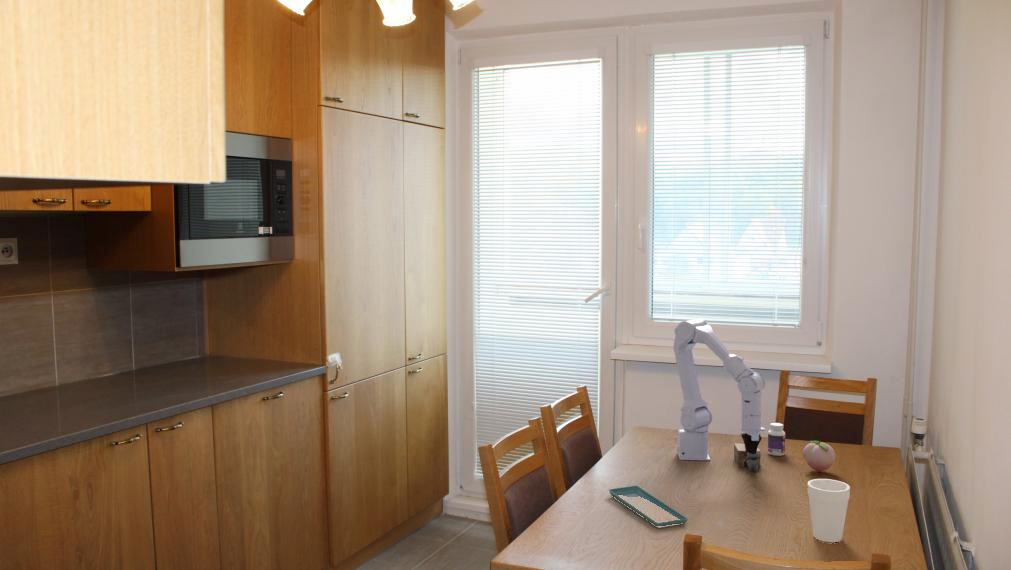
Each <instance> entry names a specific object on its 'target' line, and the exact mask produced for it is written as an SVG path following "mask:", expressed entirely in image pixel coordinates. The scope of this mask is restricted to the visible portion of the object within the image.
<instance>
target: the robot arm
mask: <svg viewBox="0 0 1011 570" xmlns="http://www.w3.org/2000/svg"><path fill="white" fill-rule="evenodd" d="M673 331H674V335H675V337H674V341H673V352H674V357H675V362H676V367H677V371H678V372H677V373H678V376H679V382H680V387H681V390H682V395H683V402H682V405H681V407H680V425H681V426H682V428H683V429H678V430H677V448H676V449H677V450H676V451H677V452H676V453H677V456H678V459H679V461H711V458H710V457H711V456H710V455H709V451H708V450H709V448H708V447H709V446H708V445H709V425H711V423H712V421H713V413H712V412H711V410H710V409H709V407H708V403H707V402H706V401H705V400H704V399H703V397H702V395H701V389H700V384H699V380H698V374H697V369H696V365H695V364H696V363H695V361H694V355H693V348H694V347H696V345H697V344H702V345H703V344H704V345H705V346H707V348H708V349H709V350H710V351H712V353H713V354H714V355H716V356H717V358H719V360H721V361H722V362H723V363H722V364H723V366H722V367H723V369H724V370H725V371H726V372H727V373H728V374H729V375H730V376H731V378H733V380H734V381H735V382H736V383H737V388H738V390H739V392H740V395H741V420H740V421H741V425H740V431H741V432H743V433H740V436H741V438H742V440H743V444H744V445H745V450H746V455H747V452H749V451H755V452H757V448H759V444H760V443H761V441H762V436H761V433H762V432H766V428H765V427H762V391H763V390H764V388H765V387H766V381H765V378H764V377H763V375H762V374H761V373H759V372H755V371H754V369H752V368H750V366H748V364H746V362H745V361H744V358H743V357H742V356H739V355H738V354H732V352H730V351H729V350H728V348H727V347H726V345H725V344H724V343H723V342H722V340H720V338H719V337H718V336H717V335H716V333H715V332H714V330H713V328H712V326H711V325H710V324H708V322H707V321H706V320H704V319H703V318H695V319H691V320H683V321H681V322H679V323H678V324H677V326H676V327H675V328H674V330H673ZM747 458H748V459H749V457H747Z"/></svg>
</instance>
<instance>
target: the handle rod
mask: <svg viewBox="0 0 1011 570" xmlns="http://www.w3.org/2000/svg"><path fill="white" fill-rule="evenodd" d="M761 456H762V454H761V452H760V453H759V452H755V451H749V452H747V455H746V454H744V462H745V463H746V465H747V467H748V471H749V472H750V473H754V474H755V473H758V470H759V467H758V458H760V459H761ZM747 457H749V459H748V458H747Z"/></svg>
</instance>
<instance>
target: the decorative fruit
mask: <svg viewBox="0 0 1011 570" xmlns="http://www.w3.org/2000/svg"><path fill="white" fill-rule="evenodd" d="M802 456H803V459H804V461H805V462H806V463H807V465H808V466H809V467H810V468H811V469H812V470H814V471H815V472H818V473H821V472H823V471H827V470H829V469H830V468H831V467H832V466H833V464H834V463H835V460H836V453H835V450H834V449H833V448H832V446H831V445H829V444H828V443H825V442H821V440H820V439H818V440H810V441H809V442H808V444H806V446H805V447H804V449H803V451H802Z"/></svg>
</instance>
